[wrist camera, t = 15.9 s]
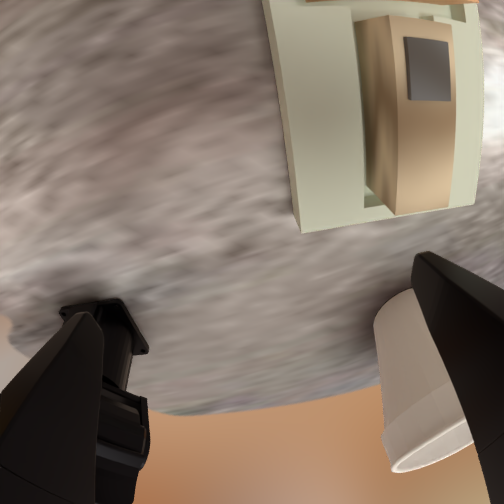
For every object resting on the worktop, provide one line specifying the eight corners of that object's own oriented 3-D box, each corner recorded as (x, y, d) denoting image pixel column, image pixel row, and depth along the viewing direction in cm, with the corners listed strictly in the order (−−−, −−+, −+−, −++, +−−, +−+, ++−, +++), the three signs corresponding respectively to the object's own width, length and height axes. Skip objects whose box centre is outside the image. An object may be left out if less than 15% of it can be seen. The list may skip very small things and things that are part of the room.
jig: (455, 190, 20) (473, 204, 18) (293, 214, 20) (301, 233, 18) (440, -54, 9) (461, -60, 7) (245, -76, 10) (248, -92, 8)
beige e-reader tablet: (414, 179, 18) (451, 209, 15) (366, 185, 18) (397, 218, 15) (409, 26, 13) (455, 24, 9) (354, 22, 13) (391, 14, 9)
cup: (459, 317, 29) (515, 415, 17) (364, 369, 32) (401, 479, 20) (451, 238, 22) (547, 360, 11) (326, 308, 25) (376, 463, 14)
